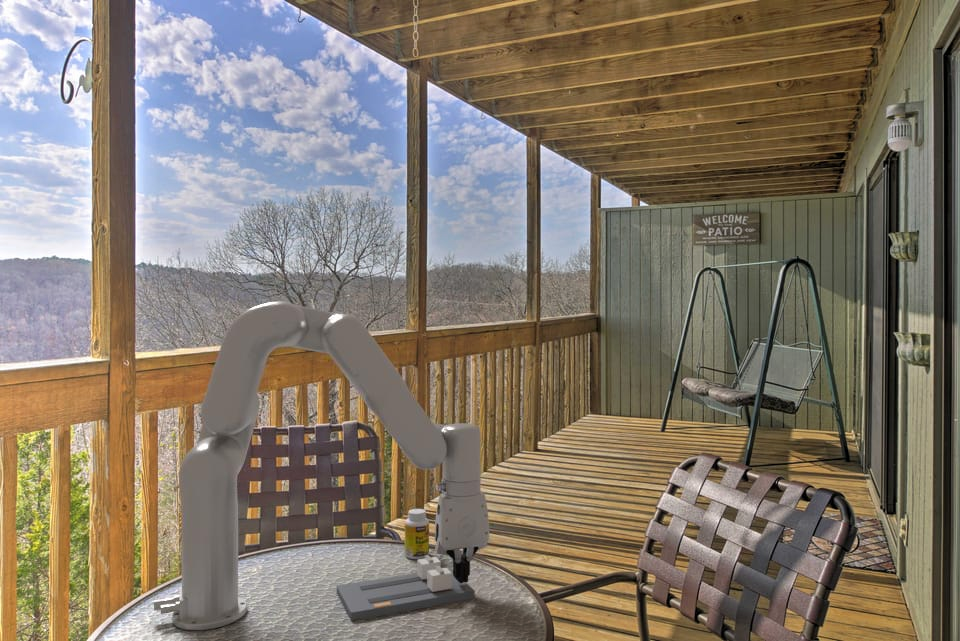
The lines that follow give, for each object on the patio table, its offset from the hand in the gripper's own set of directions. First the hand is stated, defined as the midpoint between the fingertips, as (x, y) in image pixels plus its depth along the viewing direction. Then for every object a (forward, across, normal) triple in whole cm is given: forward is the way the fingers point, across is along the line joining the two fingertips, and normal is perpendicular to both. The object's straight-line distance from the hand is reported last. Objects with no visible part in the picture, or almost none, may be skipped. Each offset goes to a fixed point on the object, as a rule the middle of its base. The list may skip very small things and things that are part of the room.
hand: (461, 580), depth 129 cm
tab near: (+1, -5, 0) cm, 5 cm away
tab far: (+1, -5, +6) cm, 8 cm away
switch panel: (+3, -11, +3) cm, 11 cm away
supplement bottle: (+3, -2, +23) cm, 23 cm away
